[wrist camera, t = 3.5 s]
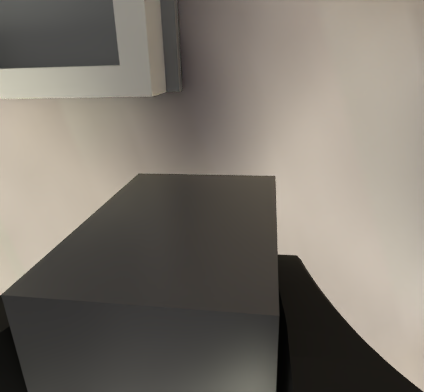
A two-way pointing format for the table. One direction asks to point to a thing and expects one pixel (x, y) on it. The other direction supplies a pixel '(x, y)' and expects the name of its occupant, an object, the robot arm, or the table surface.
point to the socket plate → (89, 48)
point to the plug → (157, 292)
